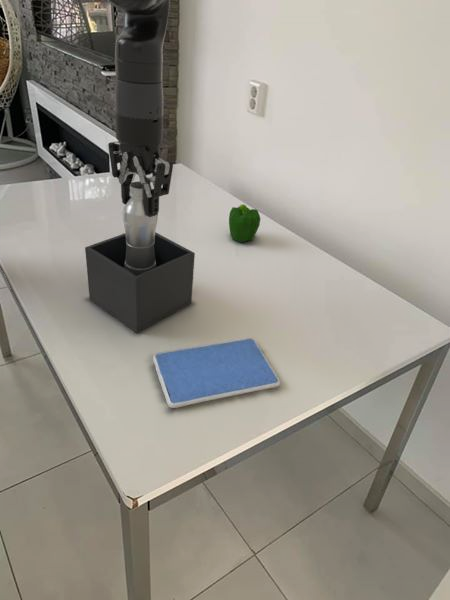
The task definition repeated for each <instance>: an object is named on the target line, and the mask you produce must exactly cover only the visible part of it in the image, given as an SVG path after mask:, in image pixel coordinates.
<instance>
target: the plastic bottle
mask: <svg viewBox="0 0 450 600" xmlns="http://www.w3.org/2000/svg"><path fill="white" fill-rule="evenodd" d="M129 195H130V196H131V198H130V199H129V201H128V202H127V203H126V205H125V204H124V206H123V208H122V209H123V210H122V220H123V225H124V233H126V259H125V263H124V269H126V270H128V271H129V272H131V273H132V274H134V275H136V276H138V275H140V274H142V273H144V272H147V271H149V270H151V269H154V268H156V267H157V266H156V261H155V250H154V242H155V241H154V240H155V232H156V230H157V226H158V225H157V224H158V218H159V212H158V213H157V215H155V216H152V217H148V216H146V196H147V195H146V191H145V187H144V185H143V184H141V182H140V180H139V181H137V180H136V181H132V183H131V184H130V192H129Z"/></svg>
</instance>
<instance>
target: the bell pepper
mask: <svg viewBox="0 0 450 600" xmlns="http://www.w3.org/2000/svg"><path fill="white" fill-rule="evenodd" d="M260 215H261V214H260V213H259V210H258V209H255V208H252V209H251V208H249V207H247V205H246V204H244V203H243V204H240V205H238V207H234V206H233V207H231V209H230V211H229V215H228V216H229V217H228V226H229V234H230V237H231V238H232V240H233V241H235V242H237V243H245V242H246V241H248V242H249V241H252V240H254V238H255V236H256V234H257V231H258V229H259V227H260V224H261V216H260Z"/></svg>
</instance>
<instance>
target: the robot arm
mask: <svg viewBox="0 0 450 600" xmlns="http://www.w3.org/2000/svg"><path fill="white" fill-rule="evenodd" d="M106 1H107V2H108V3H109V4H111V5H112V6H113V7H114V8H115V9H117V10H119V11H120V12H122V13H124V17H123V28H122V31H121V33H120V34H119V35H118V37H116V40H115V44H114V68H115V69H114V71H115V83H114V84H115V85H114V117H115V118H114V119H115V138H116V140H117V141H112V142H111V141H110V142H108V144H107V147H108V154H109V160H110V161H109V162H110V167H111V168H110V169H111V175H112V177H113V178H115V179H116V178H117V179H118V183H119V184H120V193H121V194H120V195H121V202H122V204H123V205H124V206H125V205H126V203H127V202H128V201H129V199H130V198H131V196H130V195H129V192H130V184H131V183H132V182H134V180H135V177H136V175H138V178H139V181H140V182H141V184H143V185H144V187H145V191H146V195H147V196H146V216H148V217H152V216H155V215H157V213H158V214H159V213H160V212H159V211H160V197H163V196H167V195H169V194H170V187H171V181H172V176H173V170H174V169H173V168H174V163H173V161H171V160H168V161H166V160H165V159H163V158H161V155H160V151H159V147H160V145H161V143H162V142H163V138H164V137H163V136H164V135H163V133H164V87H163V63H164V59H163V47H164V43H165V38H166V33H167V28H168V27H167V26H168V21H169V15H170V7H171V0H106ZM118 164H119V167H118ZM118 168H119V169H118ZM149 175H151V176H150V177H147V176H149ZM151 183H152V185H151ZM152 186H153V188H152Z"/></svg>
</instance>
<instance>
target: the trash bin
mask: <svg viewBox="0 0 450 600" xmlns="http://www.w3.org/2000/svg"><path fill="white" fill-rule="evenodd" d="M154 241H155V242H154V250H155V261H156V266H157V267H156V268H154V269H151V270H149V271H147V272H144V273H142V274H140V275H138V276H136V275H134V274H132V273H131V272H129V271H128V270H126V269H124V263H125V259H126V233H125V232H124V233H121V234H119V235H116V236H113V237H111V238H108V239H105V240H102V241H98V242H96V243H93V244H90V245H87V246H85V247H84V251H85V262H86V263H85V264H86V273H87V285H88V295H89V296H88V297H89V300H90V301H91V302H92V303H93V304H95V305H97V306H98V307H99V308H101V309H102V310H103V311H105V312H106V313H107V314H109V315H110V316H111V317H113V318H114V319H116V320H117V321H118V322H120V323H122V325H124V326H125V327H127V328H129V329H130V330H131V331H132V332H134V333H136V334H138V333H141V332H142V331H144V330H146V329H148V328H149V327H151V326H153V325H155V324H157V323H158V322H160V321H162V320H164V319H165V318H167V317H169V316H171V315H173V314H175V313H177V312H179V311H180V310H182V309H183V308H186V307H187V306H189V305H191V304H192V298H193V284H194V283H193V282H194V272H195V271H194V269H195V255H196V254H195V252H194V251H192V250H190V249H188V248H186V247H185V246H182V245H180V244H178V243H177V242H175V241H173V240H172V239H170V238H167V237H166V236H164V235H161V234H160V233H158V232H156V231H155V240H154Z"/></svg>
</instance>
